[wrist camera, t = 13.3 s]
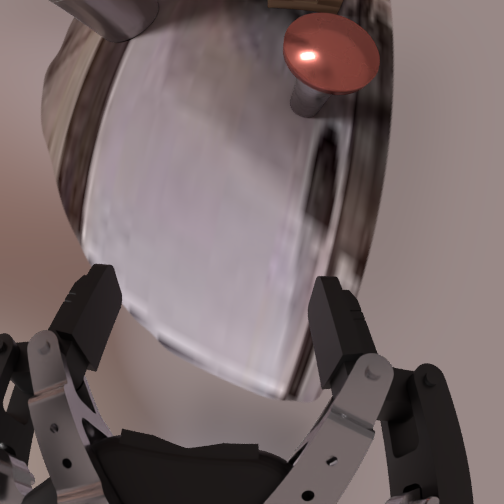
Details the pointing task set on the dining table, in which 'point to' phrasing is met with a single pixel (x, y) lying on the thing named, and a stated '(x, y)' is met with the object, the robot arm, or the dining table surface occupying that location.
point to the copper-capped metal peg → (327, 59)
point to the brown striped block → (308, 5)
